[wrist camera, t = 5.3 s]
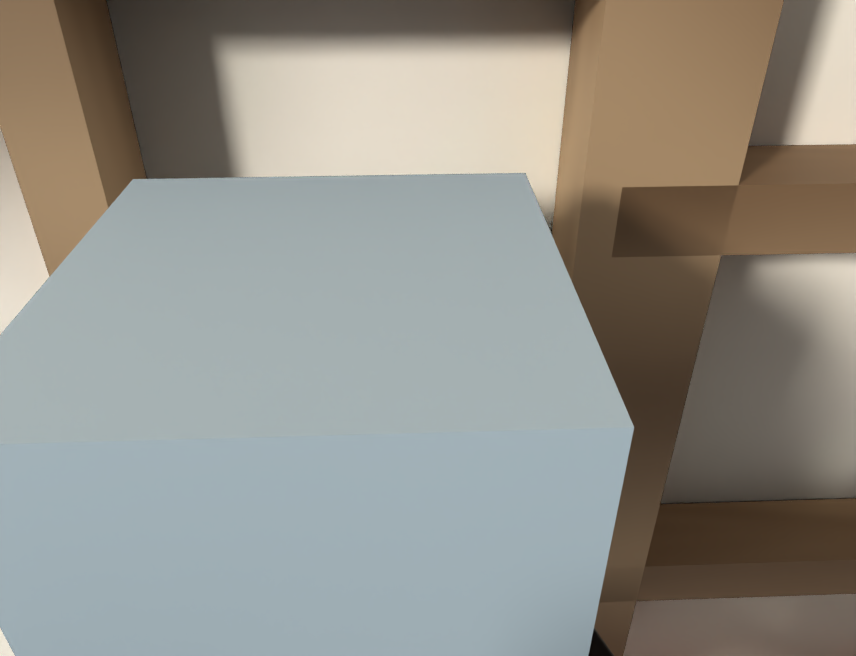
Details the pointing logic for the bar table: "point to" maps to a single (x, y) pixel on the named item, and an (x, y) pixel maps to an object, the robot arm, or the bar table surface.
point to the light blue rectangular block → (308, 427)
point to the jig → (560, 244)
